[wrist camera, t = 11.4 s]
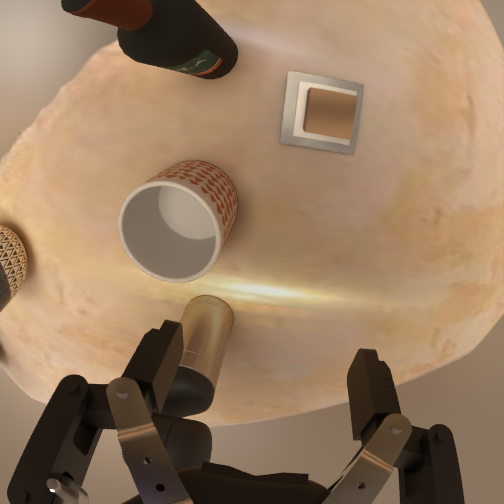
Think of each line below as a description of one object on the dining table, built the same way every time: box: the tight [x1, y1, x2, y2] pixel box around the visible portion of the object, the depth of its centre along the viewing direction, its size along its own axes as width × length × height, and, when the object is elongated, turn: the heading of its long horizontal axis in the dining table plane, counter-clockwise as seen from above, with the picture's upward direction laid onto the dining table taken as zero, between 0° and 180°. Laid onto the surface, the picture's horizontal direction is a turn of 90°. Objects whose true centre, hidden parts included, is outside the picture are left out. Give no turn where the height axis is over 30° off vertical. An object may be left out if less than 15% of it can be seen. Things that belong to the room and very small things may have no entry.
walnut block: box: [303, 87, 357, 140], centre depth 30 cm, size 5×5×5 cm
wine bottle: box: [61, 0, 238, 79], centre depth 22 cm, size 8×8×30 cm
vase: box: [118, 161, 238, 283], centre depth 40 cm, size 14×14×13 cm
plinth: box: [280, 71, 364, 155], centre depth 35 cm, size 10×10×6 cm
